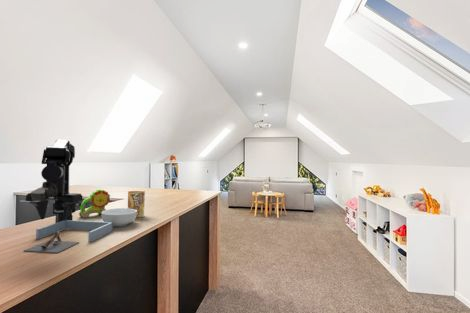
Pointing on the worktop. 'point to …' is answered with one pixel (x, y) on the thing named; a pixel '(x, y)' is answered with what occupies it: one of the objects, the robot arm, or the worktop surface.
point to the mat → (52, 247)
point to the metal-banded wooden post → (52, 241)
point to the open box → (96, 227)
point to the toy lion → (95, 203)
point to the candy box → (136, 201)
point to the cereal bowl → (119, 216)
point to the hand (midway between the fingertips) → (53, 219)
